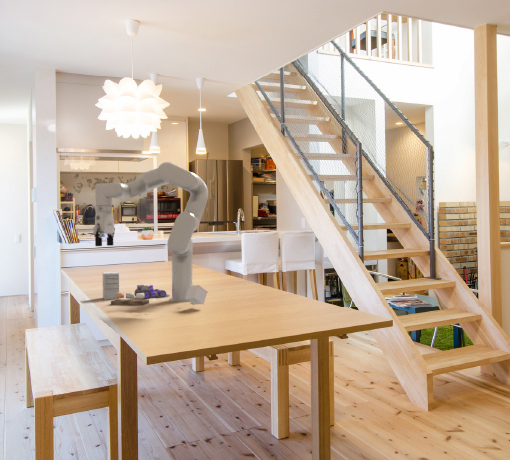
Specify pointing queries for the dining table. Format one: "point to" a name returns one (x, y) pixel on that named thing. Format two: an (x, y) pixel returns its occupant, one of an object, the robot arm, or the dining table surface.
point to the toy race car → (150, 292)
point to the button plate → (129, 302)
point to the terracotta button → (119, 295)
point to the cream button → (140, 295)
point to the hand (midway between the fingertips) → (104, 245)
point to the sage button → (129, 295)
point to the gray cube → (196, 294)
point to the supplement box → (110, 285)
